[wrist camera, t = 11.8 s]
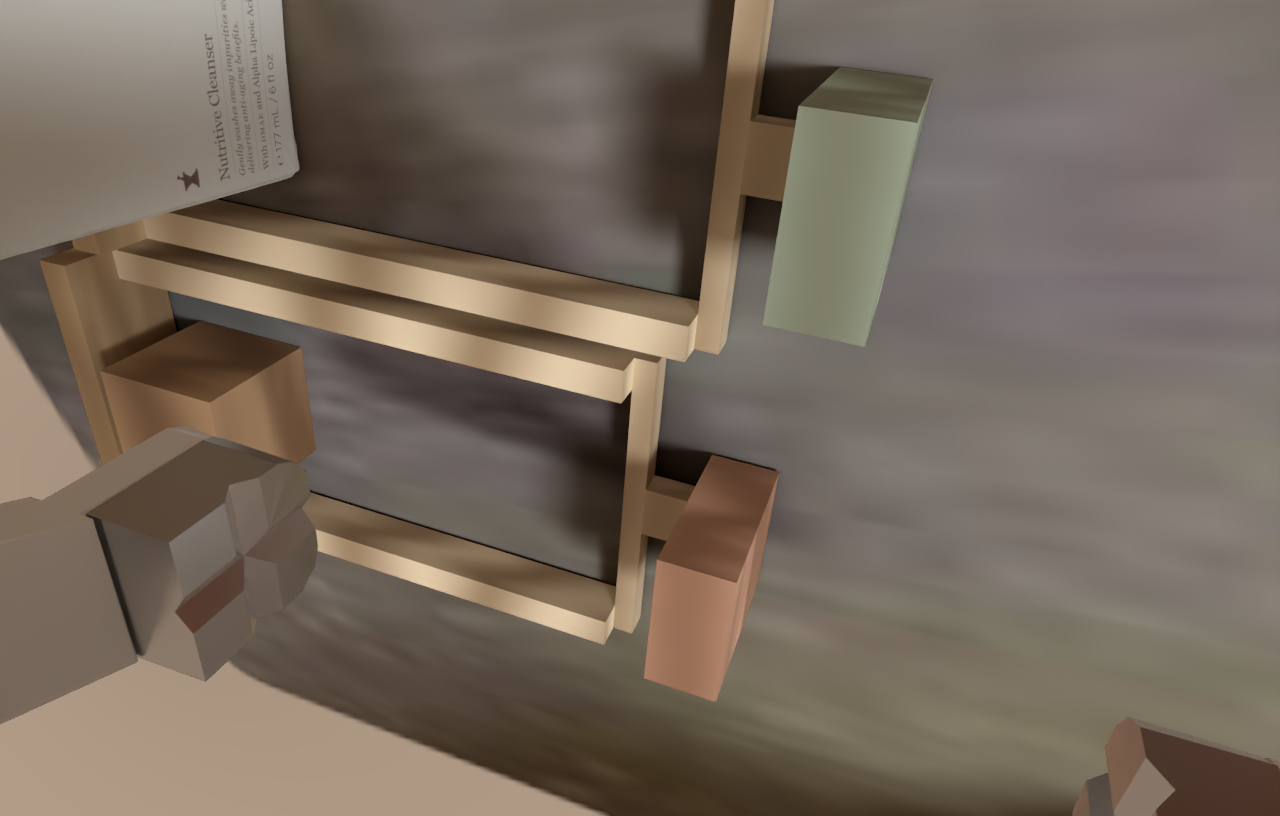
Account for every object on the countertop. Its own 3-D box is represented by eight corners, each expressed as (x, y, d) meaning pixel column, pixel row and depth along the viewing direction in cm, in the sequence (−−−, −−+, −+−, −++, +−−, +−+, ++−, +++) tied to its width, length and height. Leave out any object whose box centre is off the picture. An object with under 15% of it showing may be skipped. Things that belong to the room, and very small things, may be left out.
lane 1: (971, -83, 20) (966, -87, 15) (863, 372, 26) (834, 474, 21) (81, -156, 27) (-123, -176, 22) (164, 217, 33) (20, 267, 28)
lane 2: (797, 380, 27) (754, 480, 22) (744, 649, 33) (703, 774, 28) (130, 228, 34) (-15, 278, 29) (191, 474, 40) (80, 550, 35)
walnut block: (302, 346, 34) (209, 402, 30) (316, 448, 37) (233, 513, 33) (202, 319, 35) (99, 370, 31) (223, 420, 38) (131, 480, 34)
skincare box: (306, 174, 30) (-161, 342, 18) (169, 141, 31) (-350, 276, 19) (279, -100, 26) (-365, -126, 13) (122, -124, 27) (-590, -168, 15)
